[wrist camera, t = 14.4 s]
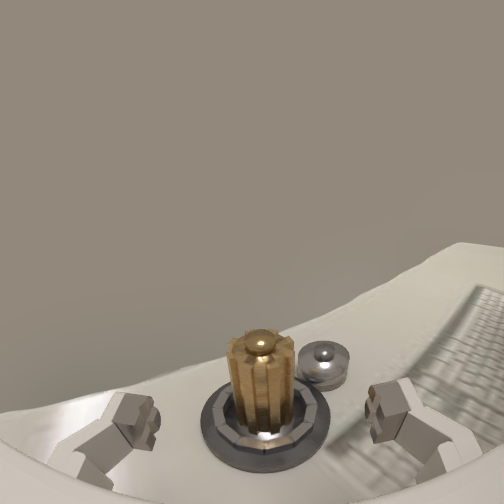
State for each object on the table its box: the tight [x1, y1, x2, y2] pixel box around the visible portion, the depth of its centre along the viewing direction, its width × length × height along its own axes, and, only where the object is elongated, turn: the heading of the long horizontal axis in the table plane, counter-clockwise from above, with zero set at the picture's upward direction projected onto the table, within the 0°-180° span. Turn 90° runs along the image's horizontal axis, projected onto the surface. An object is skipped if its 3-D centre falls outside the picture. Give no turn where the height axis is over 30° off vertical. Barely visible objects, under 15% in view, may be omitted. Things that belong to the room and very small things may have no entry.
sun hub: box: [298, 341, 350, 392], centre depth 31 cm, size 6×6×4 cm
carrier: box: [201, 377, 330, 473], centre depth 25 cm, size 13×13×2 cm
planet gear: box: [226, 329, 295, 436], centre depth 23 cm, size 6×6×10 cm
